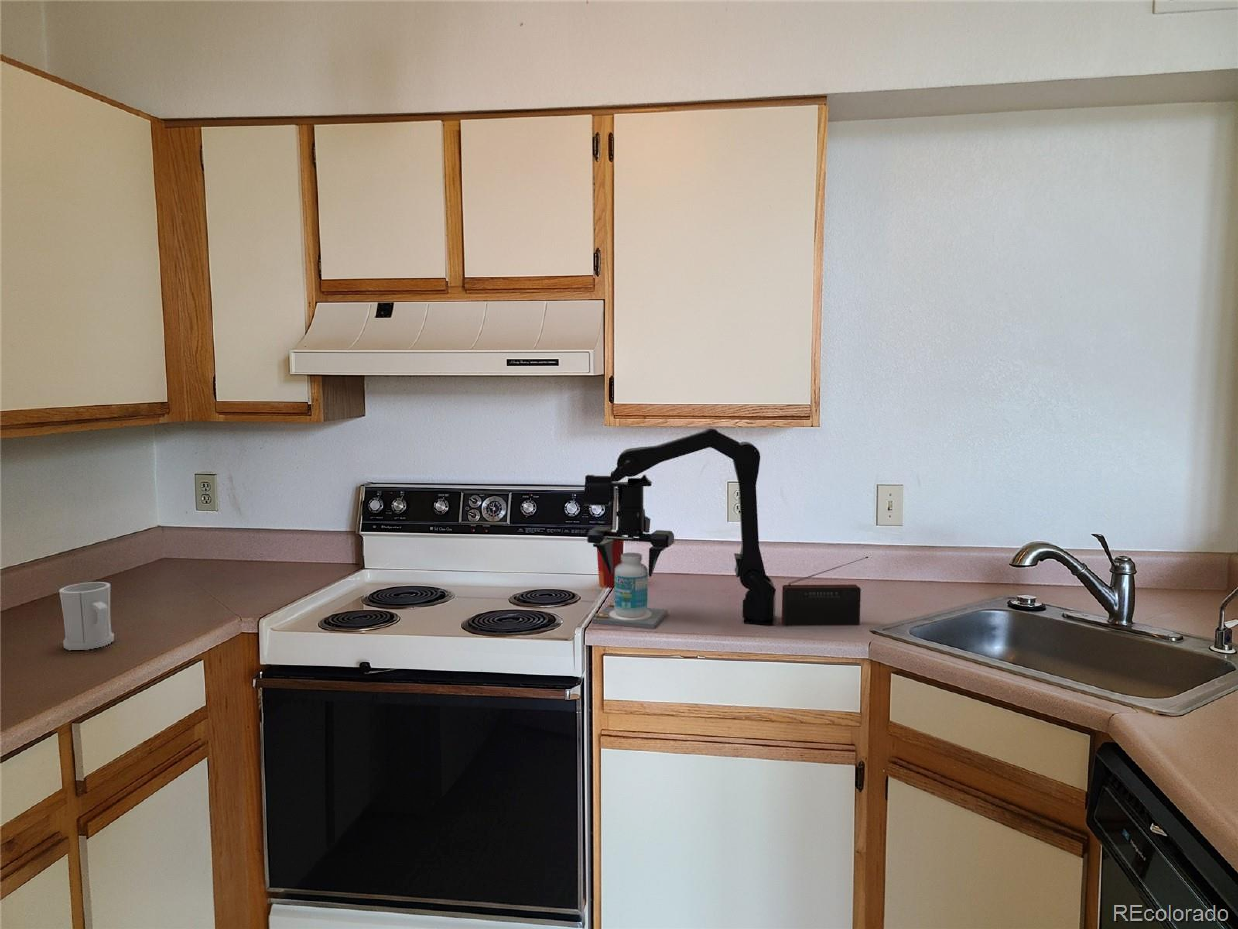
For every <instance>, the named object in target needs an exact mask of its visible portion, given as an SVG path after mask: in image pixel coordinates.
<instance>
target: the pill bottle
mask: <svg viewBox="0 0 1238 929" xmlns="http://www.w3.org/2000/svg"><path fill="white" fill-rule="evenodd" d="M642 556H643V554H642V553H639V552H623V554H621V561H622V563H620V564H618V565H617V566H616V567H615V588H614V596H613V597H614V599H613V600H614V602H613V603H614V611H615V613H616V614H617V615H619V616H623V617H640V616H643V615H645V614H646V613H647V608H648V582H649V580H648V579H649V578H648V577H649V572H648V567H647V565H645V564H644V563H642V560H643V558H642Z"/></svg>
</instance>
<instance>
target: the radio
mask: <svg viewBox="0 0 1238 929" xmlns="http://www.w3.org/2000/svg"><path fill="white" fill-rule="evenodd" d="M868 558H869V556H865V557H863V558H859V559H856V560H854V561H851V562H848V563H845V564H842V565H839V566H836V567H833V568H829V569H827V570H824V571H821V572H818V573H815V574H812V575H809V576H805V577H803V578H800V579H797V580H793V581H791V582H788V584H783V585H782V587H781V588H782V592H781V593H782V594H781V623H782V624H783V626H785V627H812V626H813V627H815V626H819V627H822V626H823V627H824V626H826V627H827V626H829V627H830V626H841V627H842V626H860V623H861V598H862V597H861V590H862V589H861V587H859V586H858V585H857V584H855V583H853V584H849V583H848V584H794V583H797V582H800V581H803V580H806V579H809V578H812V577H815V576H817V575H820V574H823V573H826V572H827V573H828V572H829V571H833V570H836V569H840V568H841V567H843V566H846V565H850V564H852V563H855V562H858V561H861V560H862V561H863V560H864V559H868Z"/></svg>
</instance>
